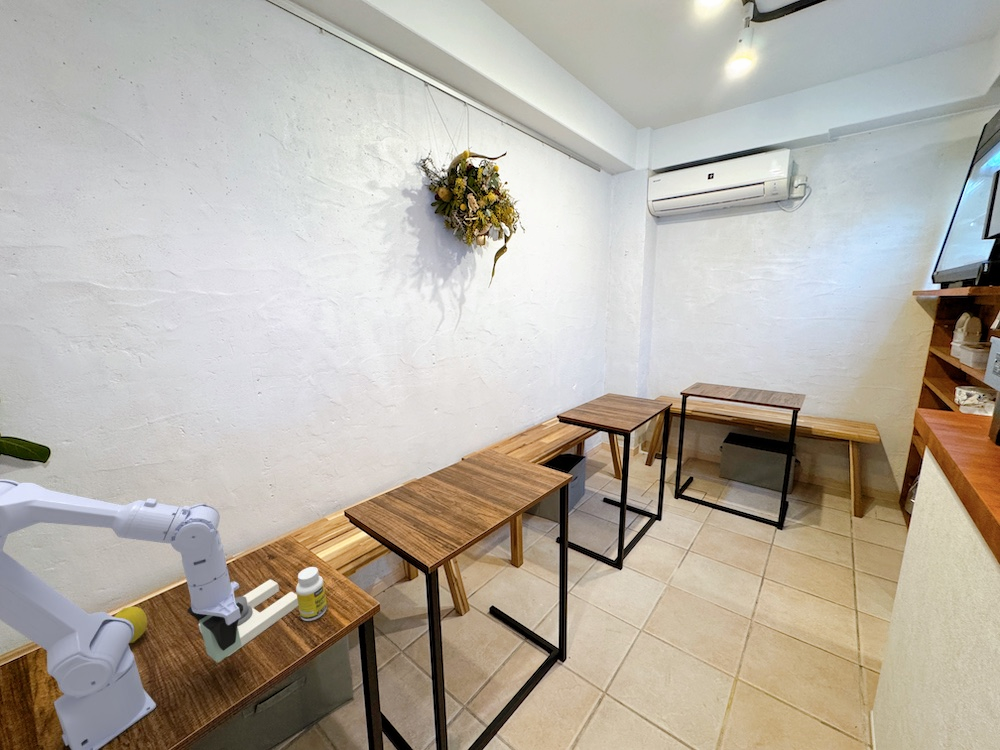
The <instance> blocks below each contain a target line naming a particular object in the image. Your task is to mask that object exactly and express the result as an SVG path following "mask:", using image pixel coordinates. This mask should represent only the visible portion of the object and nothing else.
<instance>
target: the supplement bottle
mask: <svg viewBox="0 0 1000 750" xmlns="http://www.w3.org/2000/svg"><path fill="white" fill-rule="evenodd" d="M297 579H298V583H297V584H296V586H295V594H297V599H298V605H299V606H298V610H299V616H300V619H301V620H302V621H305V622H311V621H315V620H317V619H319V618H321V617H322V616H323V615H324V614H325V613H326V611H327V608H328V602H327V596H326V590H325V584H324V583H325V582H324V579H323V577H322V576H321V575H320V572H319V568H317V567H316V566H309V567H306V568H303V569H302V570H301V571H299V572H298V574H297Z"/></svg>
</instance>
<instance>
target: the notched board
mask: <svg viewBox="0 0 1000 750" xmlns="http://www.w3.org/2000/svg"><path fill="white" fill-rule="evenodd" d="M278 592H280V586H279V584H278V582H276V581H274V580H273V579H272V578H270V579H267V581H265V582H264V583H262V584H260V585H259V586H257V587H256V588H254V589H252V590H250V591H249V592H247V593H245V594H244V595H243V596H242V595H241V596H235V602H236V604H237V603H238V602H239V603H240V604H242V605H243V611H242V613H241V618H239V621H238V625H237V626H238V631H239V636H240V640H241V645H242V646H241V647H239V648H238V649H236V650H235V651H234V652H232V653H231V654H229V655H228V656H227V657H230V656H231V655H233V654H234V653H235V652H237V651H238V650H239V649H240V648H242V647H244V646H245V645H247V644H248V643H249V642H250V641H252V640H253V639H255V638H256V637H257V636H259V635H260V634H261V633H263V632H265V630H267V629H268V628H269V627H271V626H273V625H274V624H275V623H277V622H278V621H279V620H281V619H282V618H284V617H285V616H286V615H288V614H289V613H290V612H292V611H293V610H295V609H296V608H297V607H299V605H298V599H297V594H296V592H293V591H290V592H288V593H287V594H285V595H284V596H282V597H281V598H279V599H278V600H276V601H275V602H274V603H272V604H270V605H268V607H266V608H264V609H263V610H262V611H258V610H257V609H255V608H257V606H258V605H259V606H260V604H262V603H264V601H265V602H266V600H268V599H270V598H271V597H272V596H273V595H275V594H276V593H278ZM197 625H198V629H199V632H200V634H202V631H201V626H200V623H199V622H198V624H197Z"/></svg>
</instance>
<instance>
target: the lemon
mask: <svg viewBox="0 0 1000 750" xmlns="http://www.w3.org/2000/svg"><path fill="white" fill-rule="evenodd" d="M113 617H116V618H123V619H126V620H128V621H130V622H131V623H132V624H133V626H134V635H133V637H132V639H131V641H130V642H129V643H128V644H133V643H135V642H136V641H137V640H138V639H139V638H141V637H142V635H143V634H144V633H145V631H146V629H147V625H148V617H147V614H146V612H145V611H144V610H143V609H142V608H141V607H138V606H127V607H124V608H122V609H121V610H119V611H118V612H117V613H116V614H115V615H114V616H113Z"/></svg>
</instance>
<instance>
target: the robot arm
mask: <svg viewBox="0 0 1000 750" xmlns="http://www.w3.org/2000/svg"><path fill="white" fill-rule="evenodd" d="M39 523H40V524H42V523H44V524H46V523H47V524H56V525H58V524H59V525H66V526H67V525H70V526H81V527H93V528H105V529H107V528H108V529H112V530H113V532H114V533H115V535H116V536H117V537H118V538H122V539H129V540H138V541H146V542H153V543H162V544H170V545H171V547H172V548H173V549H174V550H175V551H176V552H178V553H180V555H181V563H182V566H183V570H184V575H185V580H186V584H187V588H188V592H189V597H190V606H189V608H187V610H186V611H187V613H189V615H191V616H192V617H194V619H196V620H197V622H198V624H199V623H200V622H199V620H201V619H202V618H204V617H206V616H207V615H212V617H211V618H209V619H208V620H206V621H204V622H203V623H202V624H203V625H204V626H205V627H206V628H207V629H209V630H210V631H211V632H212V633H213V635H214V637H215V639H216V641H217V643H218V645H219V647H220V648H221V649H222V650H223V651H224V650H225V649H227V648H228V647H230V646H231V645H233V644H234V643H235V641H236V633H237V625H238V621H239V618H241V613H242V611H243V605H242V604H240V603H239V602H238V603H237V604H236V602H235V598H236V596H235V591H237V590H238V589H239V588H240V585H239V583H238V582H237V581H231V580H230V575H229V570H228V565H227V561H226V556H225V551H224V545H223V544H222V541H221V539H222V538H221V536H220V532H219V531H220V530H218V527H219V524H220V513H219V511H218V509H216V508H215V507H214V506H211V505H208V504H205V503H197V504H193V505H192V506H190V505H183V506H178V505H173V504H171V505H170V504H166V503H160V502H158V499H156V498H150V497H149V498H146V500H141V499H139V500H135V501H133V502H130V503H128V504H124V505H123V504H118V503H113V502H110V501H109V502H107V501H105V500H104V501H103V500H99V499H95V498H94V499H93V498H90V497H84V496H79V495H75V494H71V493H70V494H69V493H65V492H60V491H55V490H51V489H47V488H45V487H43V486H41V485H39V484H36V483H34V482H19V481H16V480H13V479H5V478H4V479H3V478H2V479H1V478H0V621H1V622H2V623H4V624H6V625H8V626H9V627H10V628H12V629H13V630H15V631H16V632H18V633H19V634H21V635H22V636H24V637H25V638H27V639H28V640H30V641H31V642H33V643H35V644H36V645H38V646H39V647H40V648H42V649H44V650H45V651H46V665H47V666H46V671H47V674H48V675H50V676H51V677H53V678H54V679H55V681H56V682H57V685H58V686H57V687H58V689H59V691H60V692H61V693H62V694H63V695H61V696H60V697H58V698H57V699H55V700H54V701H53V705H54V708H55V711H56V714H57V717H58V720H59V723H60V724H59V725H60V727H61V729H62V732H63V734H62V735H61V737H62V740H63V743H64V744H65V746H66V747H67V746H69V748H70V750H99V749H101V748H102V747H103V746H105V745H106V744H108V743H109V742H110V741H112V740H113V739H115V738H116V737H117V736H119V735H120V734H121V733H123V732H124V731H126V730H127V729H128V728H130V727H131V726H133V725H134V724H135V723H137V722H138V721H140V720H141V719H143V718H144V717H145V716H146V715H148V714H149V713H151V712H152V711H153V710H155V708H157V703H156V702H155V700H153V699H152V697H151V696H150V695H149V694H148V693H147V691H146V690H145V689H144V686H143V683H142V680H141V677H140V673H139V668H138V665H137V662H136V659H135V655H134V652H132V650H131V648H130V645H129V644H130V643H129V642H130V641H131V639H132V637H133V635H134V626H133V624H132V623H131V622H130V621H128V620H126V619H123V618H116V617H114V616H112V615H111V614H110V613H109V614H108V612H106V611H99V612H98V611H97V612H93V613H88V612H87V611H85V610H84V609H83V608H81V607H80V606H79V605H77V604H76V603H74V602H73V601H72V600H70V599H69V598H67V596H65V595H63V594H62V593H61V592H60V591H58V590H57V589H55V588H54V587H52V586H51V585H49V583H47V582H45V580H43V579H41V577H39V576H37V575H36V574H35V573H34V572H32V571H30V570H29V569H28V568H27V567H25V566H24V565H23V564H21V563H20V562H19V561H17V560H15V559H14V558H13V557H11V556H10V555H9V554H7V553H6V552H5V551H4V550H3V549H4V545H6V544H5V543H6V540H7V537H8V535H9V534H12V533H15V532H17V531H21V530H23V529H25V528H28V527H32V526H34V525H36V524H39Z"/></svg>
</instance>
